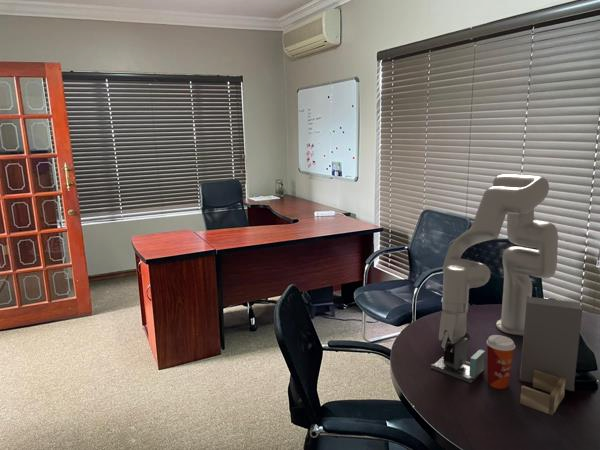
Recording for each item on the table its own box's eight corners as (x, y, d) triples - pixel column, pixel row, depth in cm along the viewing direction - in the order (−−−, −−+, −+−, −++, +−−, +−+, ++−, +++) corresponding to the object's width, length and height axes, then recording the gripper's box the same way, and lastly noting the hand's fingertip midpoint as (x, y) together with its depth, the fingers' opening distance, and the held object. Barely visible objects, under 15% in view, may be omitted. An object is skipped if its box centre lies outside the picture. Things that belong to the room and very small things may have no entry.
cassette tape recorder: (571, 381, 130) (580, 301, 125) (573, 392, 125) (583, 309, 120) (519, 371, 136) (526, 295, 131) (519, 381, 131) (526, 302, 126)
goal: (533, 385, 129) (535, 367, 127) (564, 395, 123) (566, 377, 122) (520, 403, 120) (521, 384, 119) (552, 415, 115) (554, 395, 114)
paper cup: (500, 394, 125) (503, 348, 122) (478, 381, 132) (480, 338, 129) (518, 386, 128) (522, 342, 125) (496, 374, 135) (499, 331, 132)
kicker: (451, 357, 143) (452, 331, 141) (483, 368, 136) (485, 341, 134) (441, 365, 138) (442, 339, 136) (474, 377, 131) (476, 350, 129)
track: (444, 356, 146) (444, 353, 146) (484, 370, 137) (484, 366, 137) (431, 367, 139) (431, 364, 139) (471, 382, 131) (471, 379, 130)
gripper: (455, 294, 144) (452, 346, 147) (430, 310, 132) (428, 365, 136) (478, 300, 139) (475, 353, 142) (454, 316, 127) (451, 374, 131)
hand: (452, 358), depth 139 cm, fingers closed on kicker, 4 cm apart
